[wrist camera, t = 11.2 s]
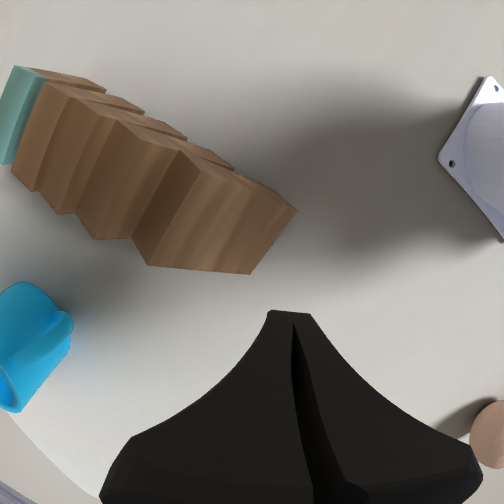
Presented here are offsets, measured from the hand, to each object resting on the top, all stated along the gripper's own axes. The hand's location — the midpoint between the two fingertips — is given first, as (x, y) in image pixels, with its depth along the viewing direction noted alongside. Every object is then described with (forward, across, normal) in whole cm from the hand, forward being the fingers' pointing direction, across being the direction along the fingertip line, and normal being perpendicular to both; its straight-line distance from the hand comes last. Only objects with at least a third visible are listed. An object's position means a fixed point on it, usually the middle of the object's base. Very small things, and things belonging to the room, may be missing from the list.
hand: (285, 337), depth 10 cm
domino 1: (+10, +14, -7) cm, 18 cm away
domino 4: (+9, +5, -3) cm, 11 cm away
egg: (+10, -26, +16) cm, 32 cm away
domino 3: (+9, +8, -4) cm, 13 cm away
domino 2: (+10, +11, -6) cm, 15 cm away
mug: (+10, +19, +9) cm, 23 cm away
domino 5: (+9, +1, -1) cm, 9 cm away
